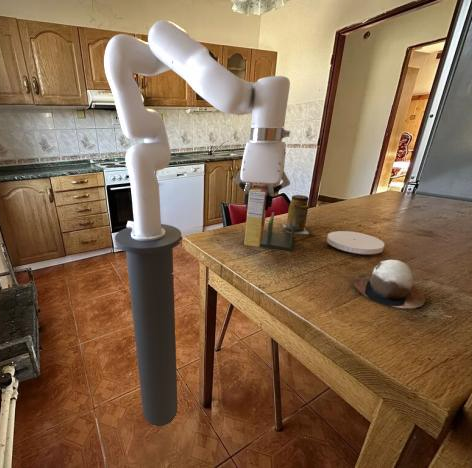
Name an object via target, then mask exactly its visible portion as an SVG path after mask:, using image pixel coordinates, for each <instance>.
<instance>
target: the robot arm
mask: <svg viewBox="0 0 472 468" xmlns="http://www.w3.org/2000/svg"><path fill="white" fill-rule="evenodd" d="M103 66H104V73H105V76H106V79H107V82H108V85H109V88H110V90H111V93H112V96H113V101H114V105H115V108H116V112H117V116H118V120H119V124H120V127H121V131H122V133H123V135H124V136H125V137H126V138H127V139H129V140H131V141H132V140H134V141H138V140H139V141H141V140H143V142H141V143H136V144H133V145H132V146H130V147H129V148H128V149H127V151H126V153H125V166H126V170H127V172H128V177H129V183H130V191H131V201H132V213H133V220H127V223H126V227H125V228H132V232H131V237H132V238H133V239H135V240H139V241H153V240H157V239H160V238H162V237H164V236H165V234H166V233H165V230H164V229H163V228H161V224H162V221H161V218H162V217H161V197H160V184H159V180H158V178H157V175H156V172H158V171H162V170H164V169H166V168H167V167H168V166H169V165H170V163H171V158H172V153H171V147H170V142H169V139H168V134H167V129H166V126H165V122H164V119H163V117H162V116H161V114H160V112H158V111H157V110H155V109H153V108H146V107H145V104H144V101H143V97H142V93H141V90H140V87H139V85H138V83H137V81H136V79H135V78H134V77H133V74H137V75H141V76H143V77H152V76H157V75H159V74H162V73H165V72H168V71H171V70H172V71H173V72H174V73H175V74H177V76H179V77H180V78H181V79H183V80H184V81H185V82H186V83H187V84H188V86H190V88H192V90H193V91H194V92H195V93H196V94H197V95H199V97H200V98H202V99H203V100H205V101H206V102H207V103H208V104H210V106H212V107H213V108H215V109H216V110H218V111H219V112H221V113H224V114H230V115H235V116H243V115H244V116H245V115H249V114H251V122H250V132H249V141H247V142H246V144H245V147H244V150H243V155H242V161H241V168H240V170H239V171H238V172H237V174H236V175H235V177H234V178H233V179H232V181H233V182H234V183H235V185H237V186H239V188H240V189H241V190H242V191H243V193H244V201H243V204H244V205H245V209H246V210H248V200H249V191H250V190H251V188H252V187H253V184H262V185H268V189H269V190H268V194H267V196H266V204H265V211H266V212H268V211H269V208H272V205H273V197H274V195H275V194H277V193H278V192H280V191H281V190H282V189H284V188H287V187H289V186H290V185H291V181H290V179H289V178H288V176H287V174H286V172H285V163H286V142H285V141H283V140H284V138H289V137H290V134H291V131H290V130H287V129H285V128H284V127H285V123H286V114H287V109H288V108H287V107H288V101H289V94H290V89H291V81H290V78H289V77H287V76H283V75H271V76H265V77H262V78H259V79H258V80H257V81H253V82H252V81H247V80H245V79H243V78H241V77H239V76H237V75H236V74H234V73H233V72H232V71H230V70H229V69H227V68H226V67H225V66H224V65H222V64H220V63H219V61H217V60H215V59H214V58H213V57H212V56H211V55H210V51H209V49H208V48H207V47H206V46H205V45H204V44H202V43H201V42H199V41H198V40H196V39H195V38H193V37H192V36H191V35H190V34H189V32H188V31H186V30H184V28H182V27H180V26H179V25H177V24H175V23H174V22H172V21H169V20H164V19H161V20H157V21H156V22H154V23H153V24H152V25H151V27H150V29H149V31H148V34H147V41H145V40H142V39H140V38H139V37H136V36H133V35H130V34H125V33H119V34H115V35H114V36H112V37H111V38H110V39H109V41H108V42H107V45H106V47H105V50H104V56H103ZM276 184H277V185H276ZM275 185H276V186H275Z"/></svg>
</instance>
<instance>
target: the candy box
mask: <svg viewBox="0 0 472 468" xmlns="http://www.w3.org/2000/svg"><path fill="white" fill-rule="evenodd" d="M268 192H269V189H268V184H263V183H254V184H253V185H252V186H251V189H250V191H249V200H248V209H246V211H247V212H246V220H245V227H246V231H245V230H244V240H245V242H243V244H244V245H243V246H248V247H252V248H253V247H254V248H260V247H261V246H260V243H261V240H262V238H263V232H264V231H265V223H266V216H267V215H266V214H267V211H265V204H266V196H267V194H268Z"/></svg>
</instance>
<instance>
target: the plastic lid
mask: <svg viewBox="0 0 472 468" xmlns="http://www.w3.org/2000/svg"><path fill="white" fill-rule="evenodd" d="M326 243H328V245H329V246H331V247H333V248H335V249H338V250H341V251H344V252H348V253H352V254H358V255H377V254H380V253H383V252H384V249H385V246H386V245H385V242H384V241H383V240H382V239H379V238H377V237H375V236H373V235H369V234H366V233H362V232H357V231H348V230H338V231H331V232H329V233H328V234H327V235H326Z"/></svg>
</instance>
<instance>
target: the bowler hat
mask: <svg viewBox="0 0 472 468" xmlns="http://www.w3.org/2000/svg"><path fill="white" fill-rule="evenodd" d="M413 277H414V276H413V273H412V269H411V268H410V266H409V265H408V264H406V262H403V261H401V260H398V259H386V260H381V261H379V263H377V265H376V266H374V267H373V271H372V273H365V274H361V275H358V276H356V277H355V278H354V280H353V285H354V287H355V288H356V290H357V291H358V292H359V293H360V294H362V295H363V296H365V297H366V298H368V299H370V300H371V301H374V302H376V303H378V304H381V305H385V306H389V307H393V308H399V309H416V308H419V307H422V306H423V305H425V303H426V297H425V296H424V294H423V293H422V292H421V291H420V289H418V288H416V287H415V286H414V285H413V283H414V278H413Z"/></svg>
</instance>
